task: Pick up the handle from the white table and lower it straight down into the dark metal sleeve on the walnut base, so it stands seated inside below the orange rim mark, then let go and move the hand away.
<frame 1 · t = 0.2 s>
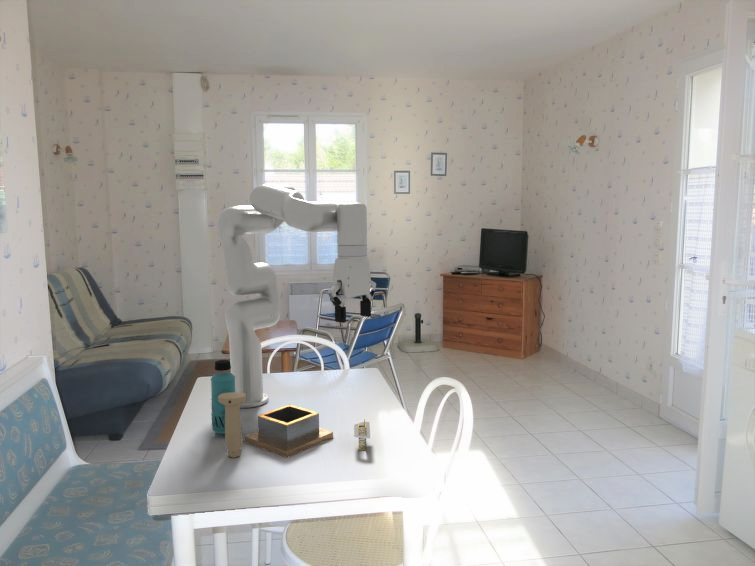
hand: (353, 319, 154), 31 cm above the table, tool pointing down, fingers open, 9 cm apart
beverage bottle: (225, 435, 160), on the table
sleeve: (289, 439, 156), on the table
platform: (362, 449, 151), on the table
handle: (234, 456, 146), on the table
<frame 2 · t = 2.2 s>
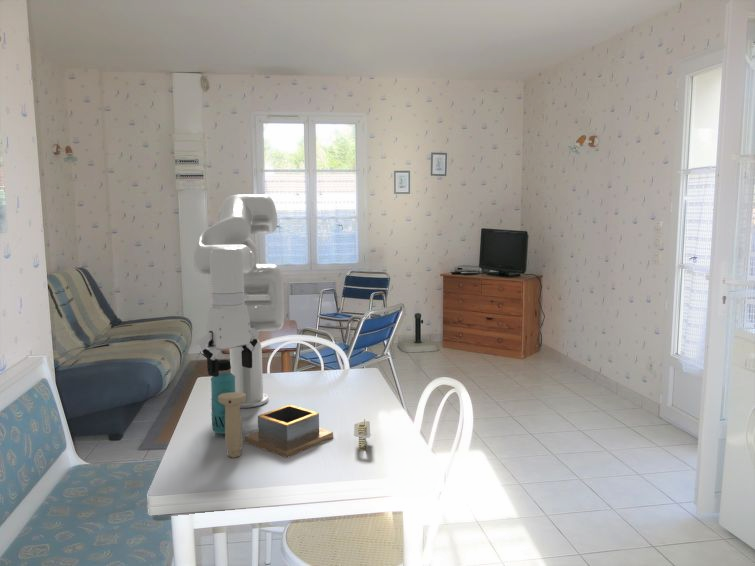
hand: (230, 371, 143), 21 cm above the table, tool pointing down, fingers open, 9 cm apart
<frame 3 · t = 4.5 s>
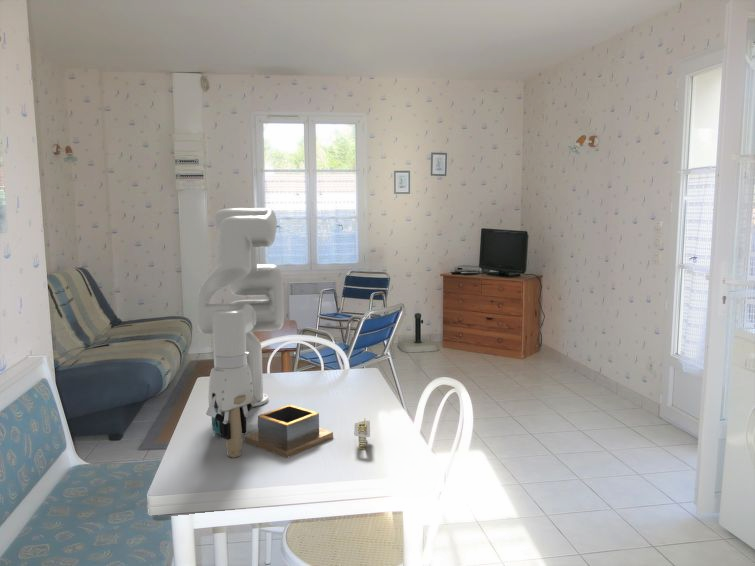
hand: (233, 434, 145), 5 cm above the table, tool pointing down, fingers closed on handle, 4 cm apart
handle: (234, 456, 146), on the table, touching gripper
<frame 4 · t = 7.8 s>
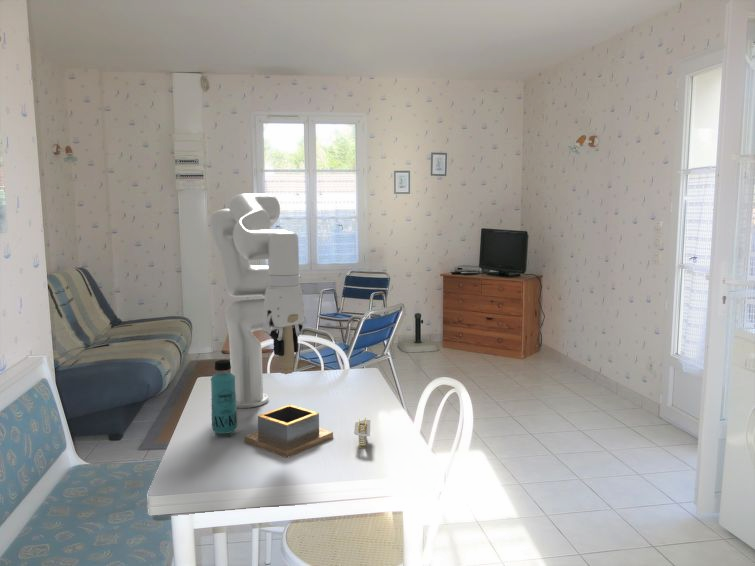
hand: (286, 352, 153), 23 cm above the table, tool pointing down, fingers closed on handle, 4 cm apart
handle: (286, 373, 154), point 18 cm above the table, touching gripper
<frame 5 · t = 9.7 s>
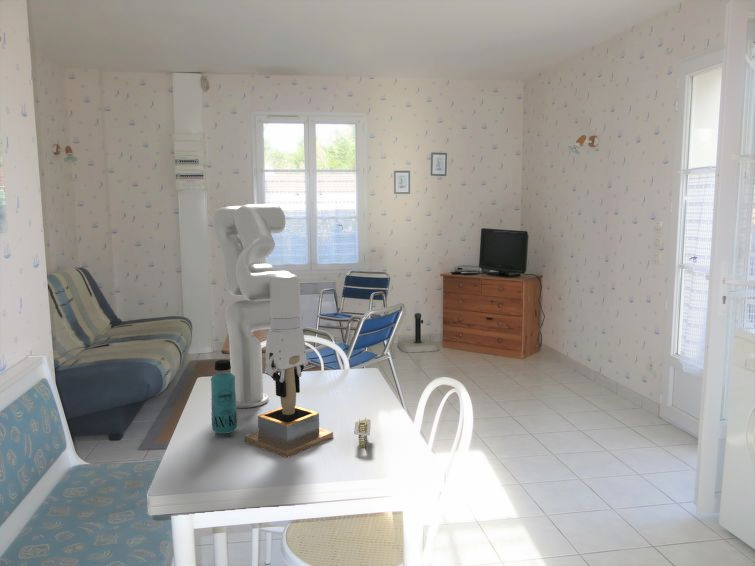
hand: (287, 393, 154), 12 cm above the table, tool pointing down, fingers closed on handle, 4 cm apart
handle: (288, 414, 155), point 7 cm above the table, touching gripper
when the fingers open (8 cm above the table, at t = 11.4 s): handle stays where it is, resting on sleeve.
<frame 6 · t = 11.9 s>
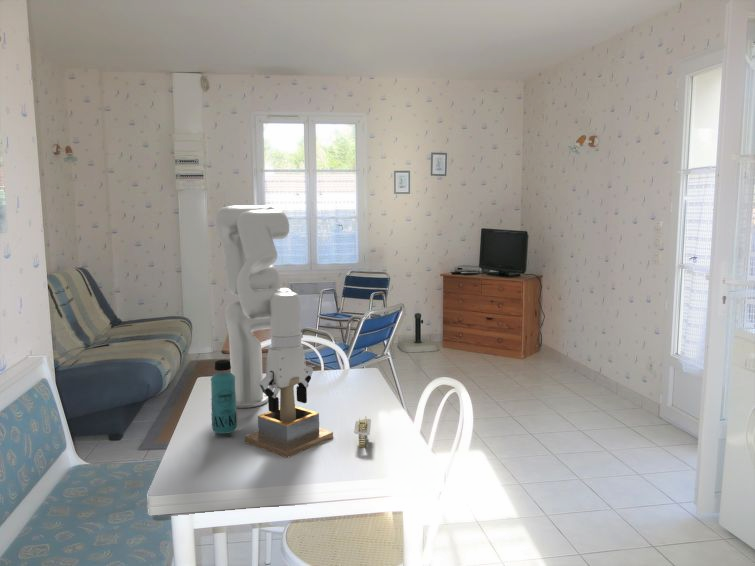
hand: (288, 406, 155), 9 cm above the table, tool pointing down, fingers open, 9 cm apart
handle: (288, 434, 156), point 1 cm above the table, touching sleeve
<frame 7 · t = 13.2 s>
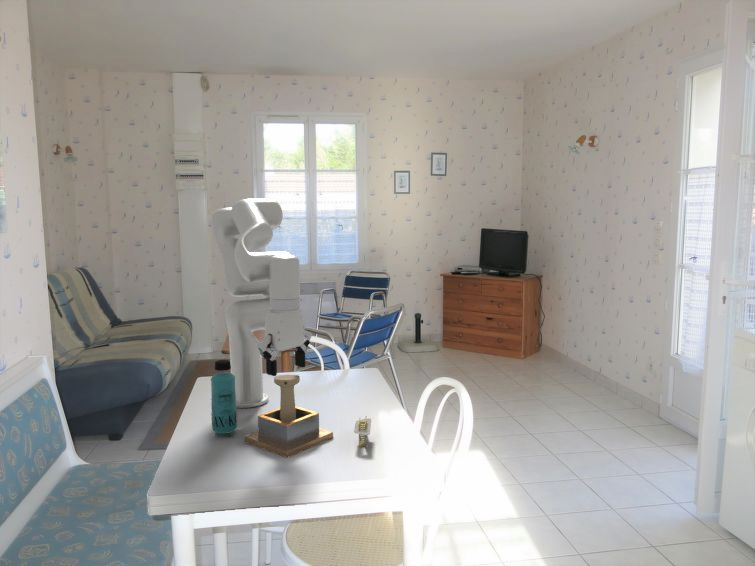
hand: (286, 370, 154), 18 cm above the table, tool pointing down, fingers open, 9 cm apart
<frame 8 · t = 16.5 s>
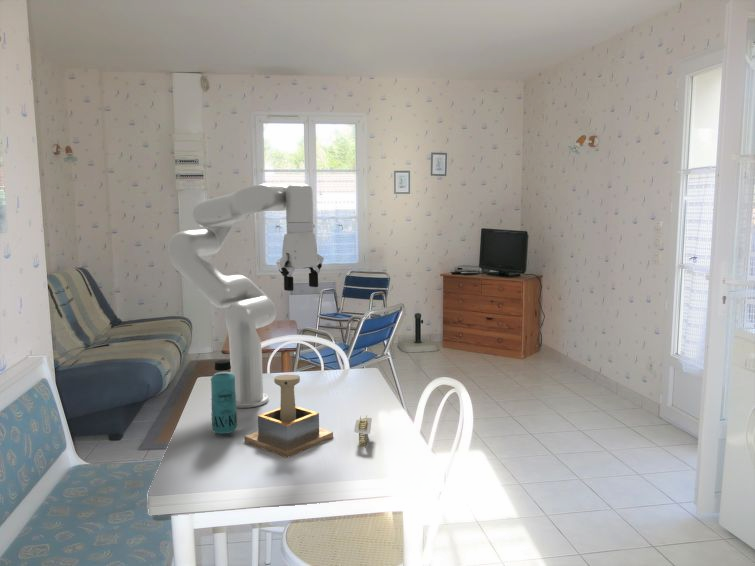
hand: (301, 288, 173), 36 cm above the table, tool pointing down, fingers open, 9 cm apart
at the end: handle inside the target area on the sleeve (0.1 cm from its centre), point 1.3 cm above the sleeve's base; handle tilted 0°; the gripper is holding nothing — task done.
